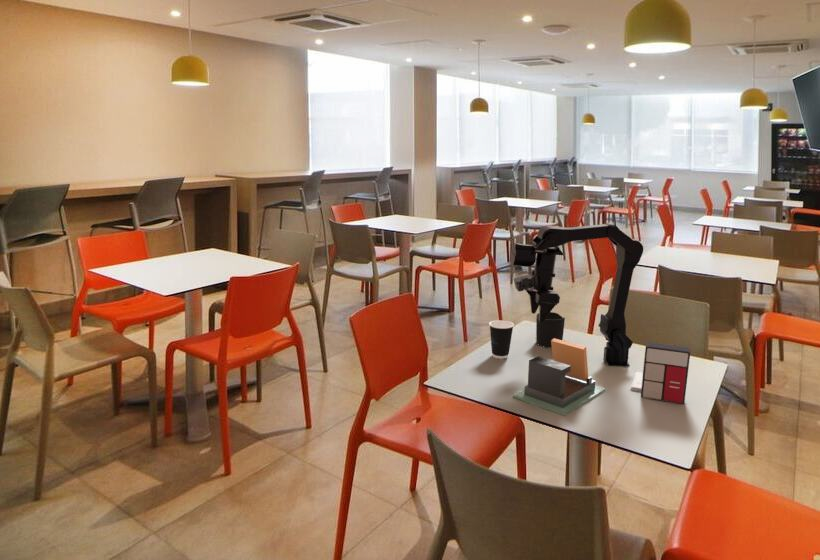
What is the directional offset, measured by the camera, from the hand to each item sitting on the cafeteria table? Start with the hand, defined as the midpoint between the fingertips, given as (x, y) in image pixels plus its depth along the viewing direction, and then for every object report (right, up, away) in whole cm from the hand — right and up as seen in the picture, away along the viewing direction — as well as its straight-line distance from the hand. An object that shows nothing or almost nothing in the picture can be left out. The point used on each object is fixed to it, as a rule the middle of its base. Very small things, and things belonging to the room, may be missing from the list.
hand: (537, 317), depth 189 cm
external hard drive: (+30, -19, -11) cm, 37 cm away
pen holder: (+9, -11, +23) cm, 26 cm away
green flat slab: (+3, -20, -18) cm, 27 cm away
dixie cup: (-10, -13, +11) cm, 20 cm away
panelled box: (+30, -21, -21) cm, 42 cm away
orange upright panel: (+6, -15, -15) cm, 23 cm away
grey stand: (+3, -19, -18) cm, 27 cm away
